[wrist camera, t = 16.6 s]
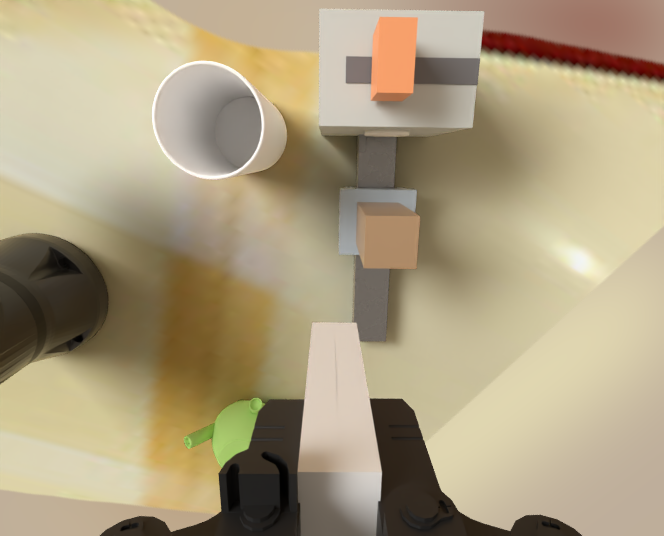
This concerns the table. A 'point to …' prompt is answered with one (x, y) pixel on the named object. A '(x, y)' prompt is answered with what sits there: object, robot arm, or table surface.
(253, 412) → the teapot
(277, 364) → the table surface
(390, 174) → the rail
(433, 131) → the cabinet
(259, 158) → the cup
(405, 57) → the block
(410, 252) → the carriage
